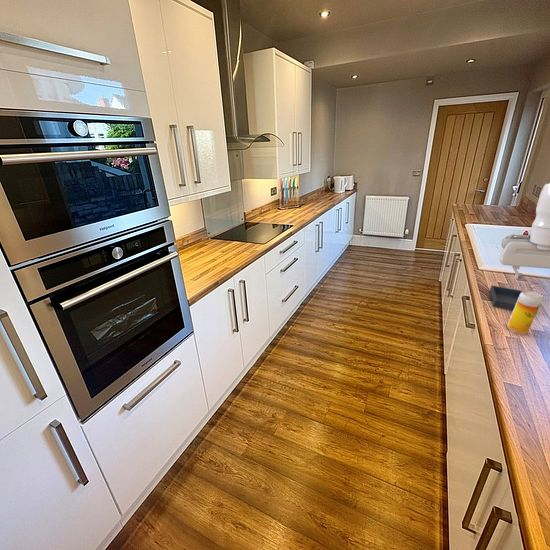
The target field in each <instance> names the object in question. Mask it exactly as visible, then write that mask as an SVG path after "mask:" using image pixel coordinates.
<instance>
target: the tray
mask: <svg viewBox="0 0 550 550" xmlns="http://www.w3.org/2000/svg"><path fill="white" fill-rule="evenodd" d="M522 292H523V290H518V289H514V288H510V287H509V288H508V287H502V286H497V285H491V286H490V288H489V295H490V299H491V304H492V307H493V308H498V309H503V310H507V311H512V312H513V310H514V307H515V305H516V303H517V300H518V298H519V295H520V294H521V293H522Z"/></svg>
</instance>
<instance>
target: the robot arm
mask: <svg viewBox="0 0 550 550" xmlns="http://www.w3.org/2000/svg"><path fill="white" fill-rule="evenodd" d="M535 213H536V215H535V219H534V220H533V222H532V223H531V224H532V225H531V228H530V232H529V234H510V235H508V236H505V237H504V238H503V239H502V242H501V247H502V250H501V253H500V256H499V262H500V263H501V265H503V266H508V267H509V266H510V267H511V266H512V269H513V271H514V273H515V274H514V280H516V281H517V280H518V281H522V280H523V279H522V278H523V276H524V275H523V273H522V272H519V270H520V268H522V267H523V268H535V269H548V270H550V180H548V181H547V182H546V183H545V184H544V186H543V188H542V189H541V191H540V194H539V197H538V200H537V204H536V208H535Z"/></svg>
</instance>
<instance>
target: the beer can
mask: <svg viewBox="0 0 550 550" xmlns="http://www.w3.org/2000/svg"><path fill="white" fill-rule="evenodd" d="M542 302H543V295H541V294H540V293H539V292H536V291H533V290H522V293H521V294H520V295H519V298H518V300H517V303H516V305H515V307H514V310H513V311H512V312H511V314H510V318H509V320H508V322H507V324H506V326H507V328H508V330H510V331H511V332H512V333H515V334H518V335H525V334H527V333H528V332H529V331H530V328H531V326H532V324H533V322H534V320H535V317H536V315H537V313H538V311H539V308H540V307H541V304H542Z"/></svg>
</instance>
